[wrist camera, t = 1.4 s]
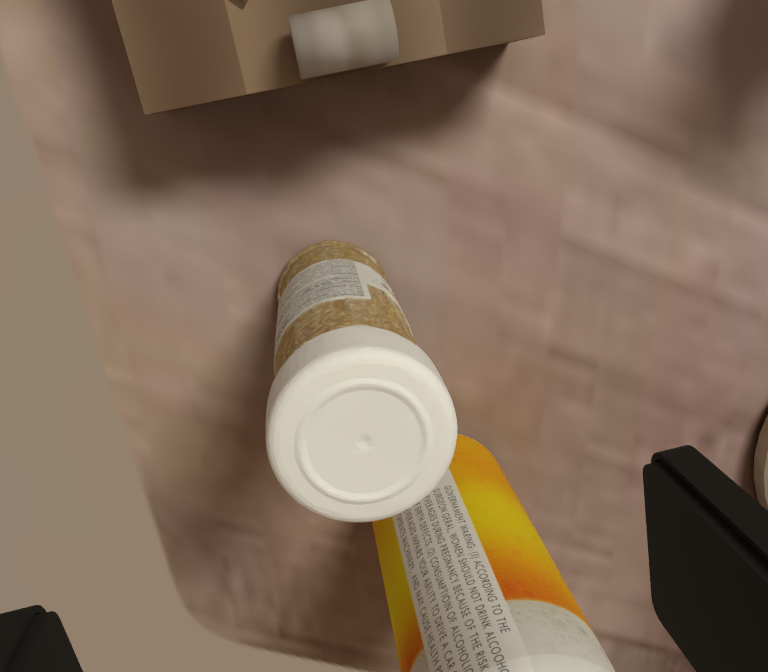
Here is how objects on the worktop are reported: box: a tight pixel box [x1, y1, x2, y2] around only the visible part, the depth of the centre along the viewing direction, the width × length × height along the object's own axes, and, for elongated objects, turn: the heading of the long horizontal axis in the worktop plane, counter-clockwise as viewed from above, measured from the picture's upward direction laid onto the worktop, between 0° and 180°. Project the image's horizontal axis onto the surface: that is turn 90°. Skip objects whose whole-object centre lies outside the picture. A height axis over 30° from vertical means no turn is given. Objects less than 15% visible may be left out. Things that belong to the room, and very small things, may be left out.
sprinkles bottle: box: [266, 241, 457, 522], centre depth 23 cm, size 5×5×13 cm
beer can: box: [372, 434, 616, 672], centre depth 26 cm, size 6×6×15 cm
